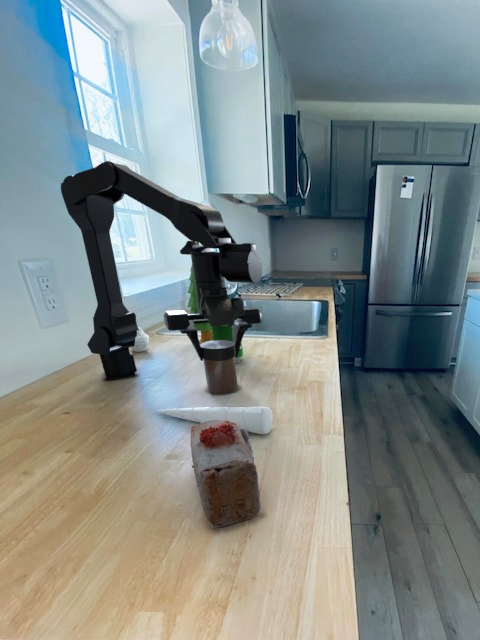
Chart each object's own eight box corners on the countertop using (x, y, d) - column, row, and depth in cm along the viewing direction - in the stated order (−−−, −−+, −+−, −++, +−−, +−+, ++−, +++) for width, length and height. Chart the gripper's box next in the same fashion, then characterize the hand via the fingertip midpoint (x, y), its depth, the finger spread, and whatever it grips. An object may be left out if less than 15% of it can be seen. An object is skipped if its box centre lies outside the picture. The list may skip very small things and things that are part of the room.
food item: (192, 472, 53) (180, 411, 49) (246, 460, 56) (240, 402, 51) (205, 533, 42) (192, 462, 38) (272, 515, 45) (267, 447, 41)
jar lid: (205, 362, 74) (203, 350, 73) (198, 353, 80) (196, 342, 79) (240, 357, 77) (239, 346, 76) (230, 349, 83) (229, 338, 82)
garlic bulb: (128, 348, 109) (123, 325, 106) (151, 346, 112) (146, 323, 108) (128, 354, 104) (122, 329, 101) (151, 352, 107) (146, 327, 103)
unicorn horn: (170, 406, 73) (166, 383, 71) (275, 428, 66) (274, 403, 64) (153, 415, 69) (147, 392, 67) (262, 440, 62) (261, 414, 60)
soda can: (240, 365, 97) (235, 319, 92) (212, 364, 97) (206, 318, 92) (246, 357, 104) (242, 313, 98) (219, 356, 104) (214, 313, 98)
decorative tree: (221, 347, 112) (208, 237, 98) (189, 349, 110) (171, 236, 96) (221, 340, 120) (210, 237, 106) (191, 341, 118) (175, 236, 104)
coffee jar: (211, 396, 78) (205, 352, 74) (204, 386, 83) (198, 345, 79) (241, 391, 81) (237, 349, 77) (233, 381, 86) (229, 341, 82)
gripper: (164, 287, 61) (180, 375, 69) (269, 283, 69) (273, 363, 77) (156, 280, 70) (171, 359, 77) (250, 277, 78) (255, 350, 85)
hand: (219, 358), depth 79 cm, fingers closed on jar lid, 7 cm apart
